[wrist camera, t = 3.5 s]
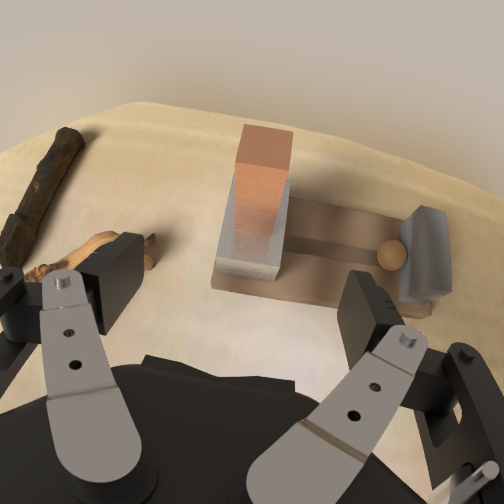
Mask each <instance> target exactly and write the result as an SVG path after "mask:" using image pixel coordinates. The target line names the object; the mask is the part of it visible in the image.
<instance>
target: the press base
mask: <svg viewBox="0 0 504 504" xmlns="http://www.w3.org/2000/svg"><path fill="white" fill-rule="evenodd" d="M391 239H393V240H398V241H400V242H401V243H402V244H403V245H404V246H405V248H406V250H407V260H406V262H405V264H404V265H403V267H401V268H400V269H398V270H395V271H389V270H386V269H384V268H383V267H382V266H381V265H380V264H379V262H378V258H377V252H378V249H379V247H380V245H381V244H382V243H383V242H385V241H387V240H391ZM351 270H358V271H365V272H370V273H371V275H372V277H373V279H374V280H375V282H376V284H377V286H381V287H382V288H383V289H384V290H385V291H386V292H387V293H388V294H389V295H390V297H391V299H392V301H393V303H394V304H395V306H396V310H398V312H399V314H400V316H401V317H410V318H418V319H422V318H425V317H428V316H431V305H432V301H433V300H435V299H438V298H440V297H442V296H444V295H446V294H448V293H451V292H452V284H451V264H450V250H449V238H448V229H447V220H446V212H444V211H440V210H436V209H433V208H429V207H425V206H422V205H421V206H420V207H419V208H418V209H417V210H416V211H415V212H414V213H413V214H412V215H411V216H410V217H409V218H408V219H407V220H406V221H404V220H399V219H395V218H391V217H386V216H382V215H377V214H372V213H368V212H363V211H358V210H354V209H349V208H344V207H339V206H334V205H329V204H324V203H318V202H313V201H308V200H302V199H297V198H291V197H289V201H288V209H287V217H286V225H285V233H284V241H283V248H282V256H281V263H280V268H279V271H278V273H277V275H276V278H275V280H274V281H268V280H262V279H256V278H250V277H244V276H238V275H232V274H226V273H220V272H218V268H217V262H216V259H215V264H214V269H213V274H212V278H211V286H212V288H213V289H218V290H224V291H230V292H236V293H241V294H247V295H253V296H259V297H266V298H272V299H278V300H285V301H291V302H298V303H304V304H311V305H318V306H325V307H332V308H338V306H339V302H340V299H341V296H342V293H343V290H344V287H345V284H346V280H347V277H348V274H349V272H350V271H351Z"/></svg>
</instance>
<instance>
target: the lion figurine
mask: <svg viewBox="0 0 504 504" xmlns="http://www.w3.org/2000/svg"><path fill="white" fill-rule="evenodd" d="M120 235H121V234H118V233H116V232H113V231H106V232H102V233H99V234H96V235H94V236H93V237H91V238H90V239H89V240H88V241H87V242H86V243H85V244H84V245H82V246H81V247H79V248H78V249H76V250H75V251H73V252H71V253H70V254H68V255H67V256H65V257H64V258H62V259H61V260H59V261H58V262H56V263H54V264H50V265H46V264H42V265H40V266H38V267H37V268H36V267H34V268H33V269H32V270H31V271H29V272H28V273H26V274H25V275H24V277H25V282H39V283H42V280H43V278H44V277H45V276H46V275H47V274H48V273H50V272H52V271H55V270H59V269H72V270H73V269H74V268H75V267H76V266H77V265H78V264H80V263H81V262H82V261H83V260H84V259H85V258H88V256H89V255H90V254H91V253H93V251H95V250H96V249H97V248H98V247H99V246H101V245H103V244H106V243H108V242H113V241H114V240H115V239H116V238H117V237H119V236H120ZM155 238H156V235H155V234H151V235H150V236H149V237H148V238H147V239H146V240H145V242H144V247H146V246H148V245H149V244H151V243H153V242H154V240H155ZM153 266H154V261H153V259H152V257H151V256H149V255H148V254H144V269H145V270H150V269H152V268H153Z"/></svg>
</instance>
